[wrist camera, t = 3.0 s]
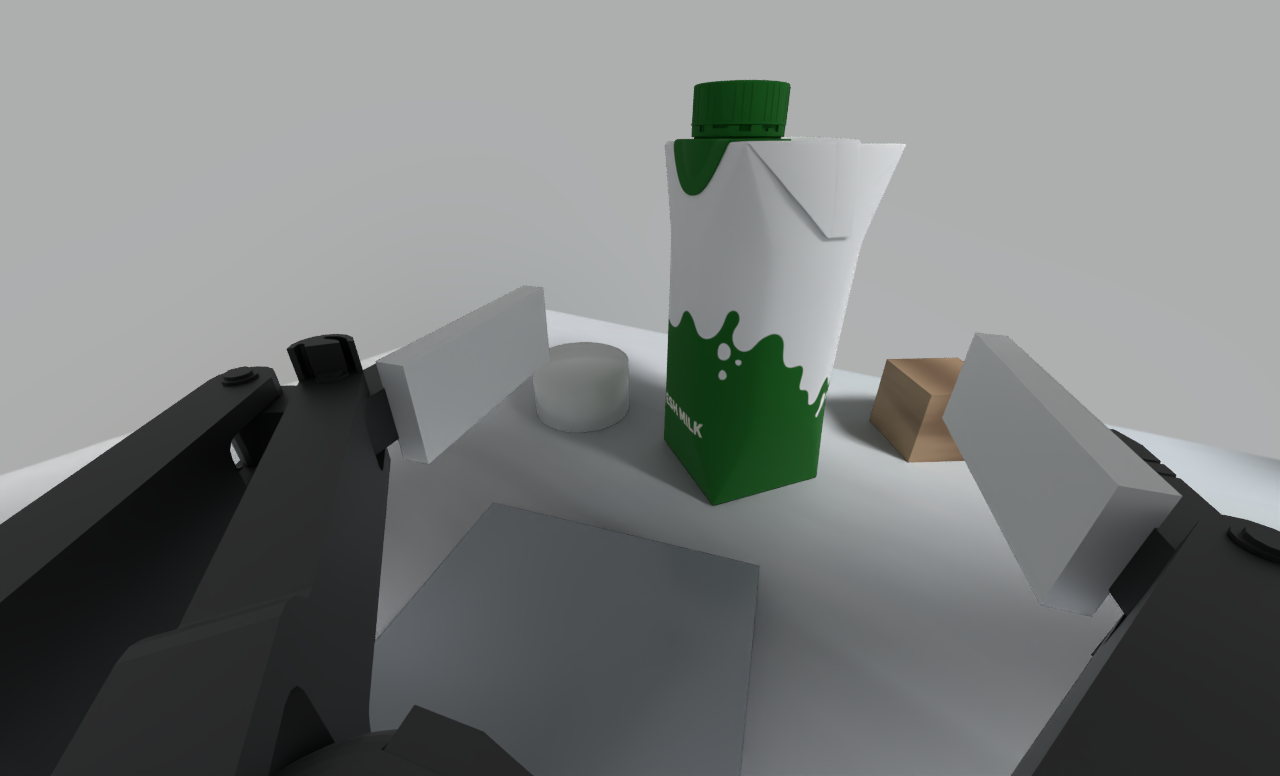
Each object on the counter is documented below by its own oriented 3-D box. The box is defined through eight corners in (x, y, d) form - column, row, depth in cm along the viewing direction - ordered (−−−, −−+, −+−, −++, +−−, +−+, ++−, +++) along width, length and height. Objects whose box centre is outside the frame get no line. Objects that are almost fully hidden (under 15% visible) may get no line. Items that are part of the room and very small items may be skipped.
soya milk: (646, 435, 32) (650, 92, 22) (758, 411, 34) (804, 98, 25) (706, 522, 24) (750, 68, 15) (841, 483, 27) (951, 80, 18)
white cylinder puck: (640, 393, 37) (640, 348, 35) (610, 441, 31) (608, 390, 29) (561, 381, 39) (557, 338, 37) (519, 424, 33) (512, 375, 31)
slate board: (757, 577, 21) (759, 565, 21) (705, 1118, 9) (708, 1113, 9) (495, 513, 25) (493, 502, 24) (222, 847, 13) (210, 836, 13)
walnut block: (935, 419, 34) (957, 357, 31) (983, 461, 29) (1013, 393, 27) (869, 421, 33) (886, 359, 31) (907, 463, 29) (931, 395, 27)
